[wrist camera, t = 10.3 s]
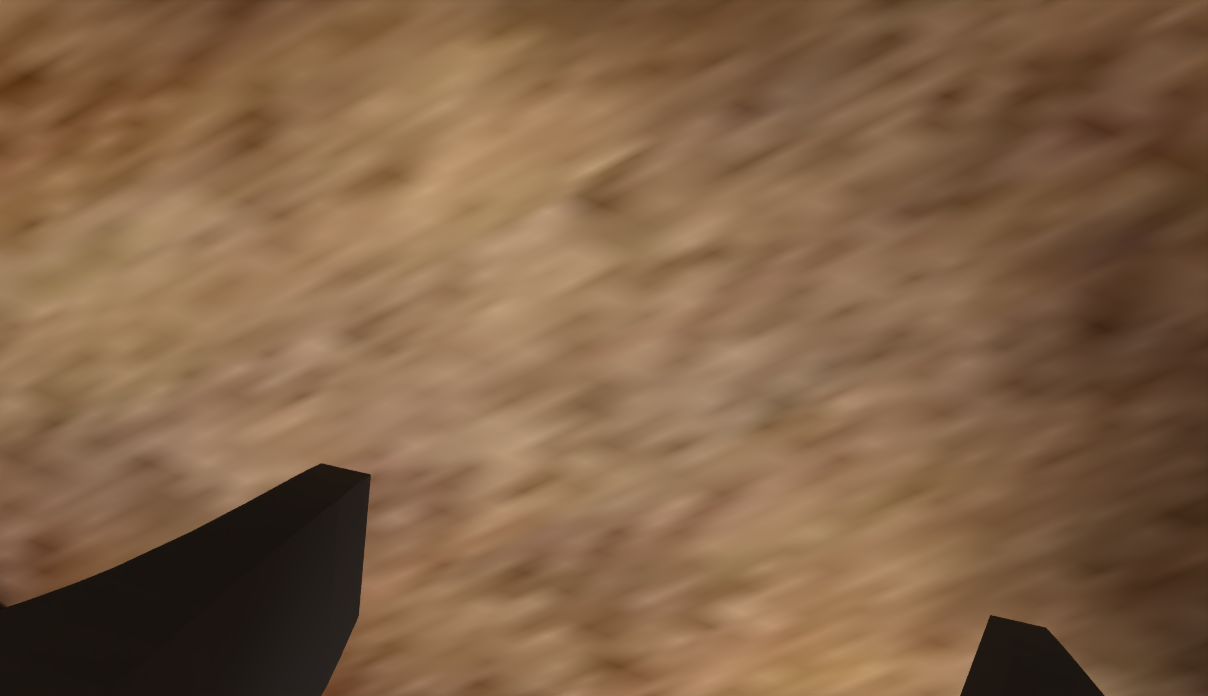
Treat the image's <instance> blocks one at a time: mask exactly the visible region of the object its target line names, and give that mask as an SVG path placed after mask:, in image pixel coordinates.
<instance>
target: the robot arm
mask: <svg viewBox="0 0 1208 696" xmlns="http://www.w3.org/2000/svg"><path fill="white" fill-rule="evenodd" d="M370 477H371V475H370V474H366V473H361V472H357V471H353V470H348V469H344V468H339V467H335V466H331V465H326V464H322V463H321V464H319V465H317V466H315V467H313V468H310V469H308V470H306V471H305V472H303V473H301V474H299V475H297V476H295V477H293V478H291V479H289V480H288V481H286V482H284V483H282V484H280V485H278V486H277V487H275V488H273V489H271V490H269V491H267V492H266V493H264V494H262V495H260V496H258V497H256V498H254V499H253V500H251V501H249V502H247V503H245V504H243V505H241V506H239V507H238V508H236V509H234V510H232V511H230V512H228V513H226V514H224V515H222V516H220V517H218V518H217V519H215V520H213V521H211V522H209V523H207V524H205V525H203V526H201V527H199V528H197V529H196V530H194V531H192V532H190V533H187V534H185V535H183V536H181V537H179V538H177V539H175V540H172V541H170V542H168V543H166V544H164V545H162V546H159V547H157V548H155V549H153V550H151V551H149V552H146V553H144V554H142V555H140V556H138V557H136V558H134V559H131V560H129V561H127V562H125V563H123V564H121V565H118V566H116V567H114V568H112V569H109V570H107V571H104V572H102V573H100V574H97V575H95V576H92V577H90V578H87V579H85V580H82V581H80V582H77V583H74V584H72V585H69V586H66V587H64V588H61V589H58V590H55V591H52V592H50V593H47V594H44V595H41V596H39V597H36V598H33V599H30V600H27V601H25V602H22V603H18V604H15V605H12V606H9V607H6V608H3V609H0V696H321V695H322V693H323V692H324V690H325V688H326V686H327V684H328V682H329V680H330V678H331V676H332V674H333V672H334V669H335V667H336V665H337V663H338V661H339V659H340V657H341V655H342V652H343V650H344V648H345V646H346V643H347V641H348V639H349V637H350V634H351V632H352V630H353V628H354V625H355V623H356V621H357V619H358V616H359V606H360V594H361V583H362V571H363V559H364V548H365V536H366V524H367V512H368V501H369V489H370ZM960 696H1104V694H1103V693H1102V692H1101V691H1100V690H1099V689H1098V687H1097V686H1096V685H1095V684H1094V683H1093V681H1092V680H1091V679H1090V678H1089V677H1088V675H1087V674H1086V673H1085V672H1084V671H1083V669H1082V668H1081V667H1080V666H1079V665H1078V663H1077V662H1076V661H1075V660H1074V659H1073V657H1072V656H1071V655H1070V654H1069V653H1068V652H1067V650H1066V649H1065V648H1064V647H1063V646H1062V645H1061V644H1060V642H1059V641H1058V640H1057V639H1056V638H1055V637H1054V636H1053V635H1052V634H1051V633H1050V632H1049V631H1048V629H1047V628H1045V627H1041V626H1036V625H1032V624H1027V623H1023V622H1019V621H1014V620H1010V619H1005V618H1001V617H996V616H992V615H990V618H989V620H988V623H987V626H986V628H985V631H984V634H983V636H982V639H981V642H980V644H979V647H978V650H977V652H976V655H975V658H974V660H973V663H972V666H971V668H970V671H969V674H968V676H967V679H966V682H965V685H964V687H963V690H962V693H961V695H960Z"/></svg>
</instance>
